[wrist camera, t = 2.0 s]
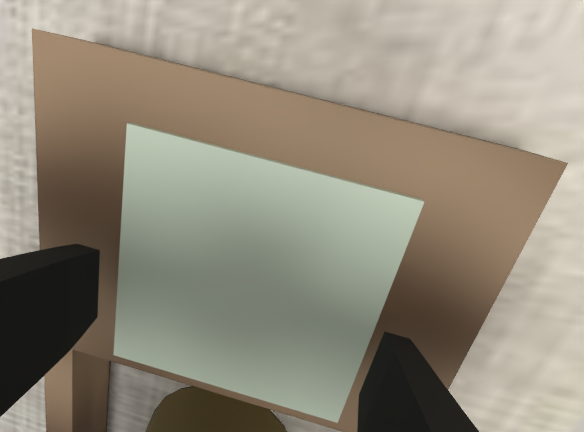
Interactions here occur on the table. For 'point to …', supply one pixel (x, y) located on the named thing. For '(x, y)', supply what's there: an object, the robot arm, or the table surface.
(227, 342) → the well board
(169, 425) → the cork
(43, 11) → the table surface
